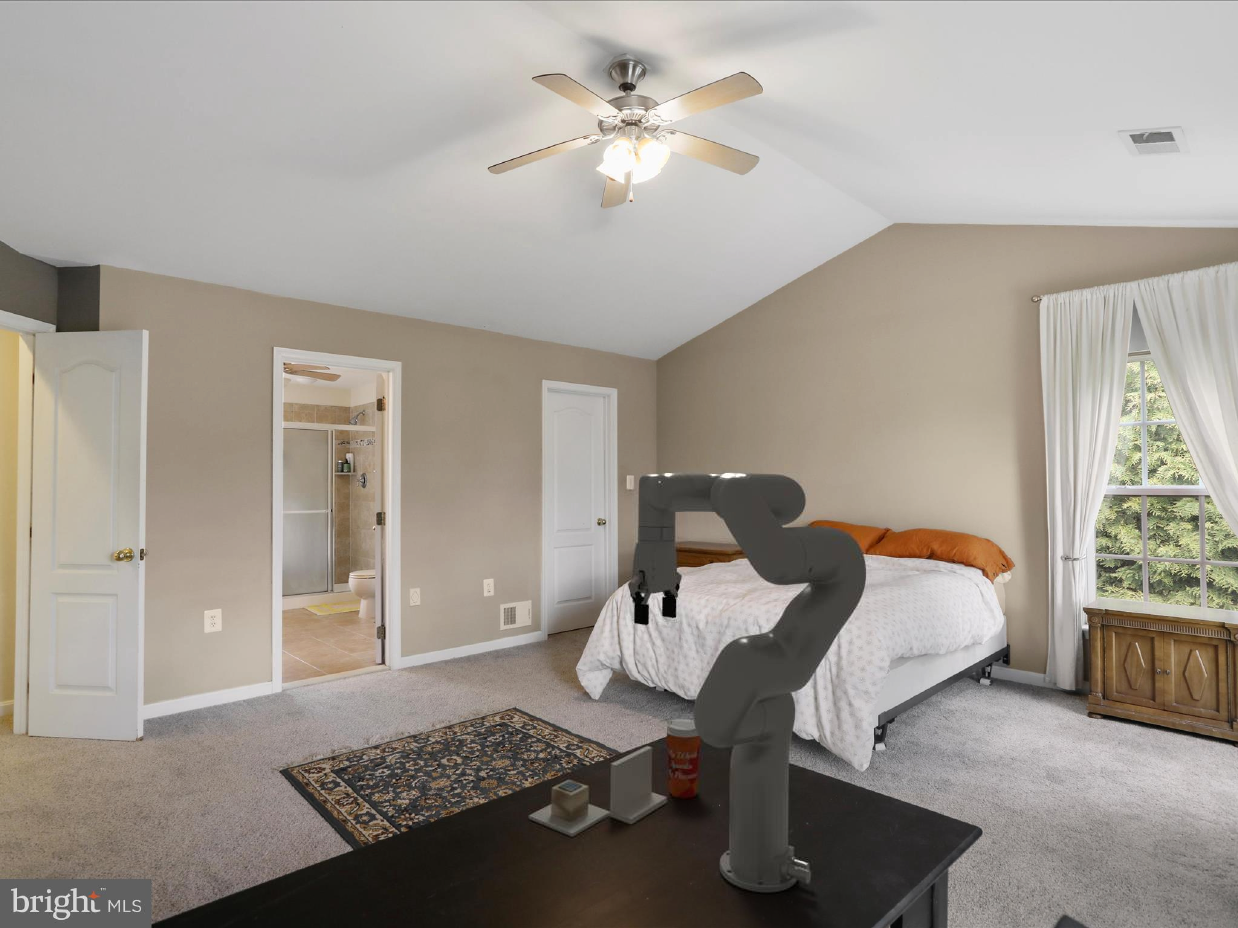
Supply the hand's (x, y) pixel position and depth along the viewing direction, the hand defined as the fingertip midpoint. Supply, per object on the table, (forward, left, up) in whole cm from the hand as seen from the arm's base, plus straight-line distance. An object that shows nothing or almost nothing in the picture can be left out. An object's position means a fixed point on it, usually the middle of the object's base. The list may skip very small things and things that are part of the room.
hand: (655, 620), depth 143 cm
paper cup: (-2, -8, -36) cm, 37 cm away
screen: (+1, +4, -36) cm, 37 cm away
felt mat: (+9, +15, -36) cm, 40 cm away
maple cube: (+9, +15, -36) cm, 40 cm away
